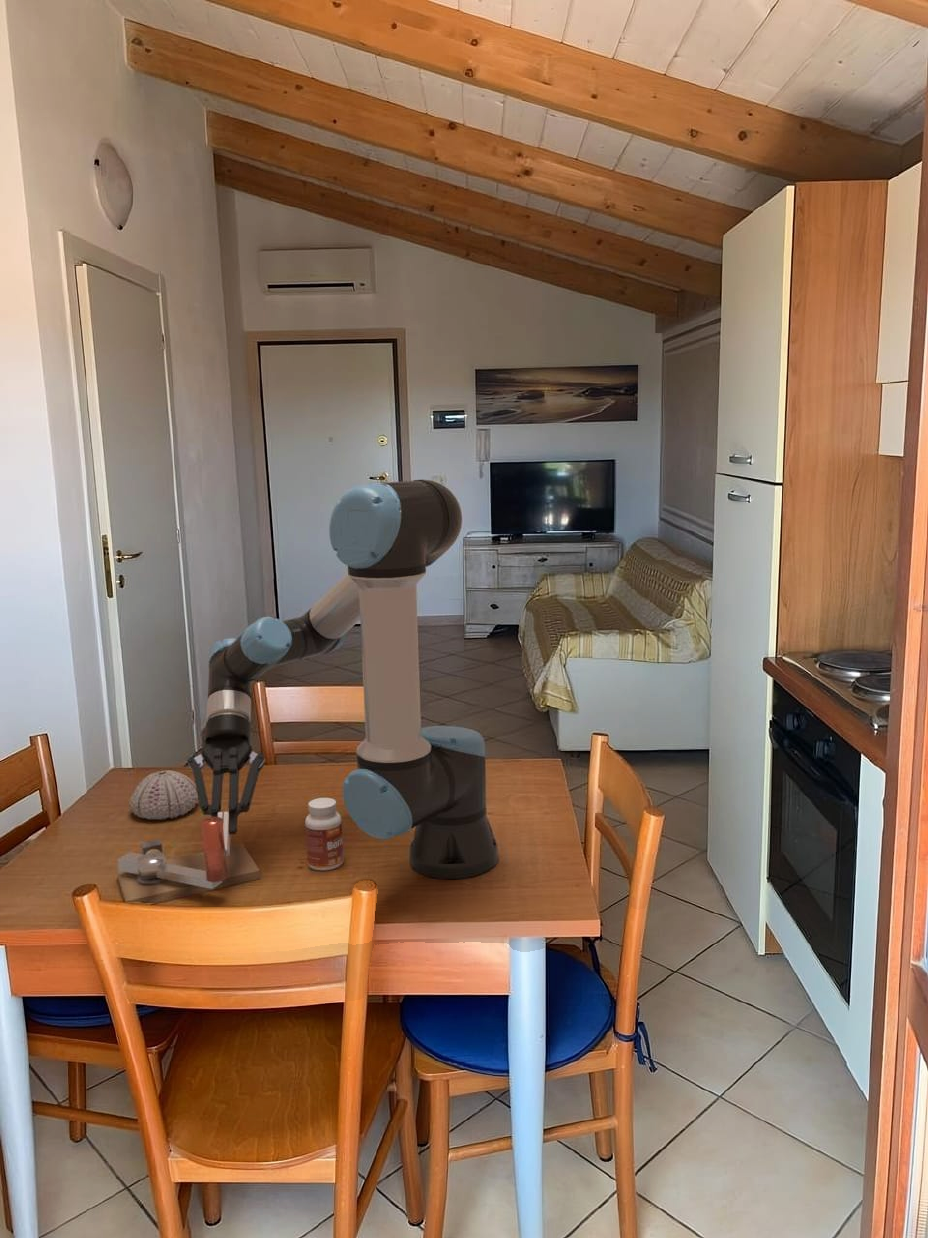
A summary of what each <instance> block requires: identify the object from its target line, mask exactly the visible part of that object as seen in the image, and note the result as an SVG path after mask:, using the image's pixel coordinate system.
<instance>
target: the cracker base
mask: <svg viewBox="0 0 928 1238" xmlns="http://www.w3.org/2000/svg"><path fill="white" fill-rule="evenodd" d="M140 845H141V854H142V855H145V854H148V853H154V852H159V853H163V846H162V845H163V844H162V842H161V839H160V838H156V839H153V840H147V841H142V842H140ZM166 863H168V864H173V865H178V866H183V867H188V868H193V869H198V870H203V871H206V869H205V858H204V851H202V852H197V853H192V854H186V855H183V856H177V857H174V858H170V859H169V858H168V859H166ZM226 867H227V878H226V879H224V880H222V883H221V884H219V885H218V886H216V887H215V888H213V889H210V888H205V887H200V886H195V885H191V884H186V883H181V882H176V881H171V880H166V879H161V878H152V879H144V878H141V877H140V876H139V875H138V874H134V873H129V872H124V871H119V870H116V875H117V876H116V877H117V880H118V883H119V887H121V888H120V890H121V895H122V897H123V900H124V902H125V901H126V902H141V903H155V904H159V903H163V902H167V901H173V900H176V899H180V898H184V897H188V896H193V895H197V894H201V893H206V892H209V891H214V890H218V889H221V888H226V887H231V886H235V885H240V884H243V883H247V882H252V881H256V880H260V879H261V872H260V871H261V870H260V869H259V867H258V865H256V863H255V861H254V860H253V858H252V857H251V855H250V853H249V852H248V850H247V849H246V847H245V845H244V844H243V843H239V844H234V845H230V856H226Z"/></svg>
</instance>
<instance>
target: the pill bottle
mask: <svg viewBox="0 0 928 1238" xmlns="http://www.w3.org/2000/svg"><path fill="white" fill-rule="evenodd" d="M307 806H308V808H307V809H308V813H309V814H307V816H306V818H305V821H304V822H305V823H304V827H305V840H306V841H305V842H306V855H307V856H306V861H307V865H308V867H309V868H311V869H312V870H315V871H329V870H330V871H331V870H335V869H336V868H339V867H340V866H341V865H342V864H343V863H344V860H345V859H344V841H343V839H344V837H343V823H342V822H343V821H342V820H343V819H342V816H341V815H340V813H339V812H338V811H337V801H336V800H335V799H334V798H331V797H319V798H318V797H317V798H314V799H312V800H310V801H309V802H308V805H307Z"/></svg>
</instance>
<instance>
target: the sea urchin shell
mask: <svg viewBox="0 0 928 1238" xmlns="http://www.w3.org/2000/svg"><path fill="white" fill-rule="evenodd" d="M135 787H136V788H135V790H134V791H133V793H132V795H131V796H130V798H129V803H128V804H129V808H130V810H131V813H133V814H134V816H137V818H141V819H147V820H153V821H155V820H159V821H162V820H166V819H174V818H177V817H178V816H184V815H185V814H188V812H190V811H192V809H193V808H196V804H199V799H198V794H197V789H196V784H195V781H194V780H192V779H191V777H188V776H187V775H186V774H183V773H181V772H177V771H175V770H168V769H167V770H161V771H156V772H152V773H150V774H148V775H147V776H145V777H144V778H142V780H141V781H140V782H139V783H138V785H136V786H135Z"/></svg>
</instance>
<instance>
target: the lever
mask: <svg viewBox="0 0 928 1238" xmlns="http://www.w3.org/2000/svg"><path fill="white" fill-rule="evenodd" d="M201 834H202V844H203V852H204V858H205V869H206V871H203V870H198V869H193V868H188V867H183V866H178V865H173V864H168V863H166V860H167V858H166V857H167V856H166V854H165V853H163V852H162V853H159V852H154V853H148V854H145V855H142V853H136V852H132V851H131V852H130V851H129V852H127V853H126V854H124V855H121V857H119V858H117V860H116V861H117V867H118V868H117V869H118V870H119V871H124V872H129V873H134V874H138V875H139V876H140V877H141V878H144V879H152V878H161V879H166V880H171V881H176V882H181V883H186V884H191V885H195V886H200V887H205V888H210V889H213V888H215V887H216V886H218V885H219V884H221V883H222V880H224V879H226V878H227V867H226V855H225V843H224V831H223V819H222V818H220V817H211V816H209V817H206V818H203V819H202V820H201ZM118 870H117V871H118Z"/></svg>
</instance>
